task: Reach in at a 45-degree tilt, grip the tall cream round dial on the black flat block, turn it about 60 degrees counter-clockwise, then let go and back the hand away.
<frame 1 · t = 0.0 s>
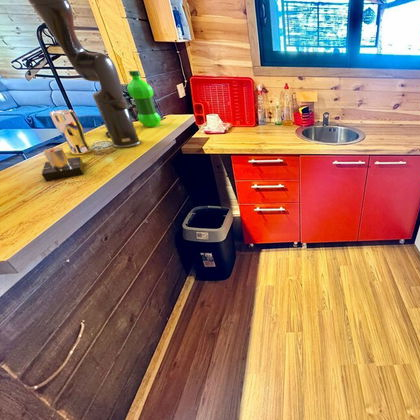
black flat block: (66, 171, 85), on the table
plastic bottle: (152, 126, 132), on the table
dial: (56, 157, 81), point 5 cm above the table, hinge at 0.0°
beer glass: (82, 152, 100), on the table
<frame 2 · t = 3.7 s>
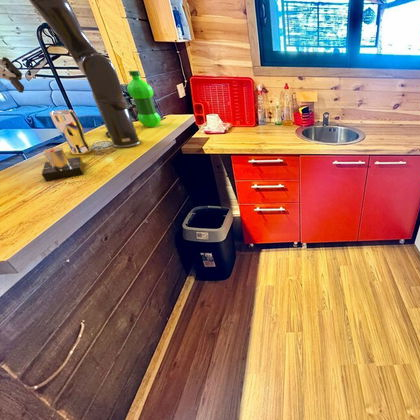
hand: (2, 92, 75), 24 cm above the table, tool tilted 40°, fingers open, 8 cm apart
nothing on the table moved.
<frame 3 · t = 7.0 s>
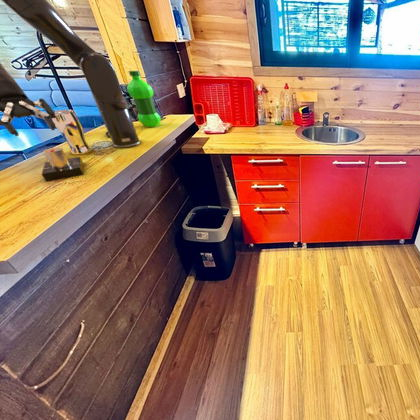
hand: (35, 131, 81), 12 cm above the table, tool tilted 45°, fingers open, 8 cm apart
nothing on the table moved.
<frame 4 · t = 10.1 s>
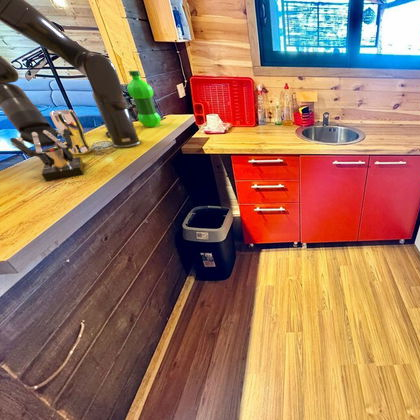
hand: (61, 162, 81), 4 cm above the table, tool tilted 45°, fingers closed on dial, 4 cm apart
dial: (56, 157, 81), point 5 cm above the table, hinge at -0.5°, touching gripper
everything else where it was.
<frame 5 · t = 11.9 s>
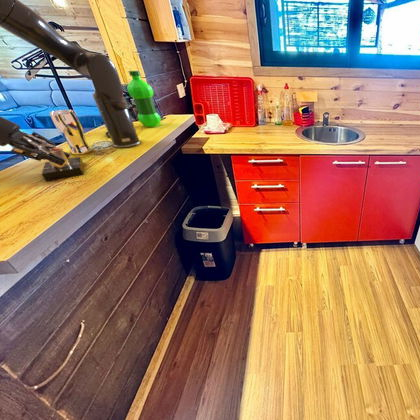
hand: (66, 160, 83), 4 cm above the table, tool tilted 45°, fingers closed on dial, 4 cm apart
dial: (56, 157, 81), point 5 cm above the table, hinge at 59.2°, touching gripper
everything else where it was.
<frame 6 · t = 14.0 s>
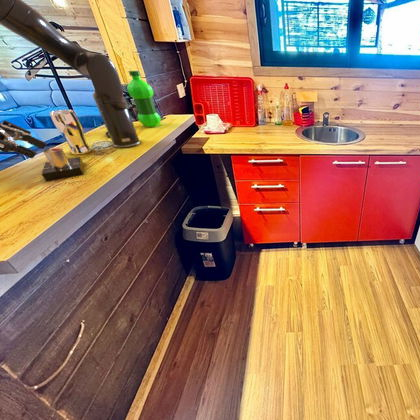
hand: (40, 150, 79), 8 cm above the table, tool tilted 45°, fingers open, 8 cm apart
dial: (56, 157, 81), point 5 cm above the table, hinge at 59.9°
everything else where it was.
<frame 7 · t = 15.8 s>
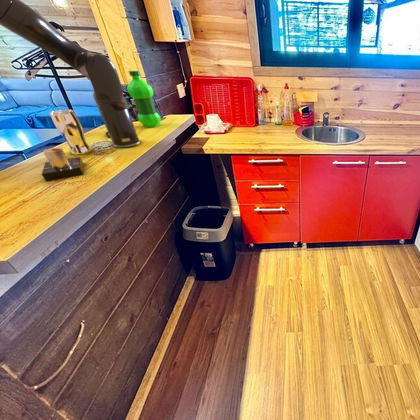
nothing on the table moved.
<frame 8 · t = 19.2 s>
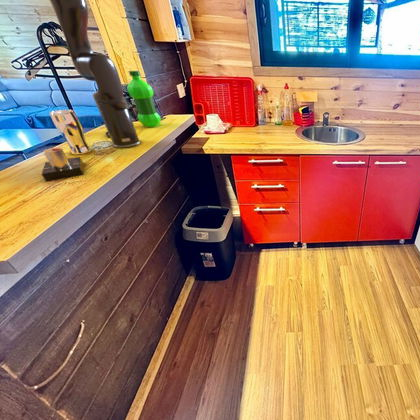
nothing on the table moved.
at the end: dial at +60° (first picture: +0°); dial reached +60° during the clip, +60° at the end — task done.
